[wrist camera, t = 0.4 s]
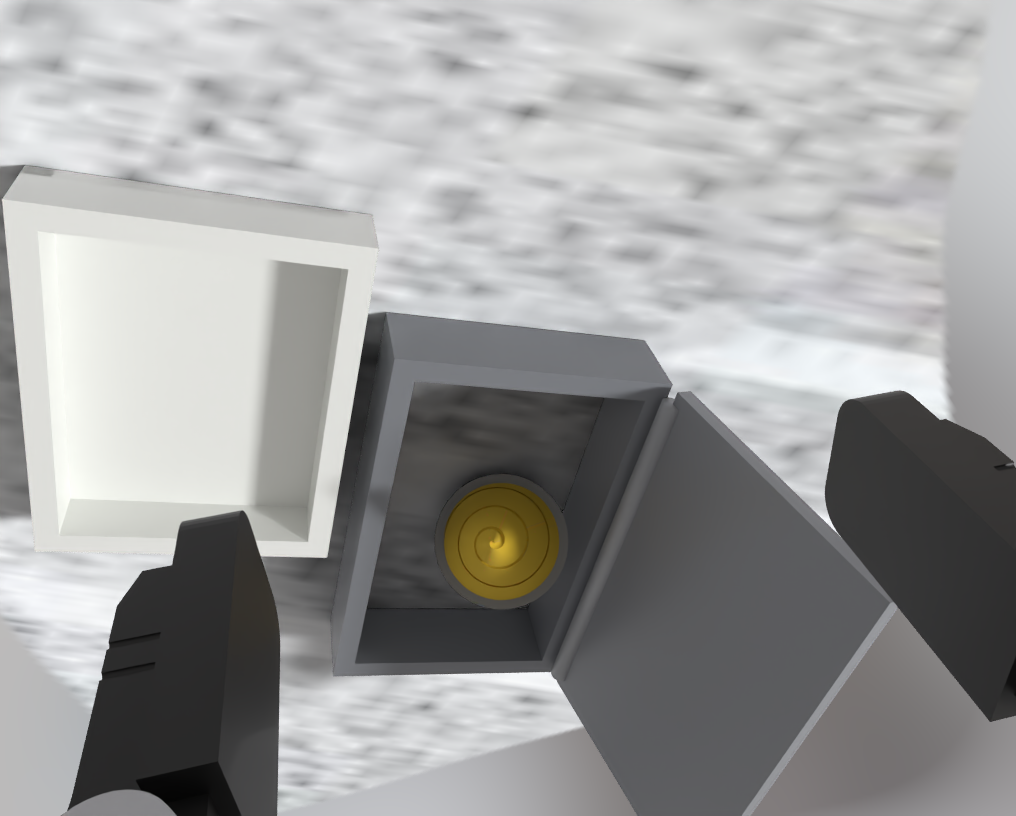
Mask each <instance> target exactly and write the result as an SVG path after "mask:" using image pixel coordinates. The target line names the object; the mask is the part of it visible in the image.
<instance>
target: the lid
mask: <svg viewBox="0 0 1016 816" xmlns="http://www.w3.org/2000/svg"><path fill="white" fill-rule="evenodd" d="M897 608H898V607H897V605H896V604H895V603H894V602H893V601H892V599H891V598H890V597H889V596H888V594H887V593H886V592H885V591H884V589H883V588H882V587H881V586H880V584H879V583H878V582H877V581H876V579H875V578H874V577H873V576H872V574H871V573H870V572H869V571H868V569H867V568H866V567H865V566H864V565H863V563H862V562H861V561H860V560H859V558H858V557H857V556H856V555H855V553H854V552H853V551H852V550H851V548H850V547H849V546H848V545H847V543H846V542H845V541H844V540H843V539H842V538H841V537H840V536H839V535H838V534H837V533H836V532H835V531H834V530H833V529H832V528H831V527H830V526H829V525H828V524H827V523H826V522H825V521H824V520H823V519H822V518H821V517H820V516H819V515H817V514H816V513H815V512H814V511H813V510H812V509H811V508H810V507H809V506H808V505H807V504H806V503H805V502H804V501H803V500H802V499H801V498H800V497H799V496H798V495H797V494H796V493H795V492H794V491H793V490H792V489H791V488H790V487H789V486H788V485H787V484H786V483H784V482H783V481H782V480H781V479H780V478H779V477H778V476H777V475H776V474H775V473H774V472H773V471H772V470H771V469H770V468H769V467H768V466H767V465H766V464H765V463H764V462H763V461H762V460H761V459H760V458H759V457H758V456H757V455H756V454H755V453H754V452H753V451H752V450H750V449H749V448H748V447H747V446H746V445H745V444H744V443H743V442H742V441H741V440H740V439H739V438H738V437H737V436H736V435H735V434H734V433H733V432H732V431H731V430H730V429H729V428H728V427H727V426H726V425H725V424H724V423H723V422H722V421H721V420H720V419H719V418H717V417H716V416H715V415H714V414H713V413H712V412H711V411H710V410H709V409H708V408H707V407H706V406H705V405H704V404H703V403H702V402H701V401H700V400H699V399H698V398H697V397H696V396H695V395H694V394H693V393H692V392H691V391H689V392H678V393H677V395H676V398H675V399H673V398H663V399H662V402H661V404H660V406H659V409H658V411H657V414H656V416H655V419H654V421H653V424H652V426H651V428H650V431H649V433H648V436H647V438H646V441H645V443H644V446H643V448H642V450H641V453H640V455H639V458H638V460H637V463H636V465H635V468H634V470H633V472H632V475H631V477H630V480H629V482H628V485H627V487H626V490H625V492H624V494H623V497H622V499H621V502H620V504H619V507H618V509H617V512H616V514H615V516H614V519H613V521H612V524H611V526H610V529H609V531H608V533H607V536H606V538H605V541H604V543H603V546H602V548H601V551H600V553H599V555H598V558H597V560H596V563H595V565H594V568H593V570H592V573H591V575H590V577H589V580H588V582H587V585H586V587H585V590H584V592H583V595H582V597H581V599H580V602H579V604H578V607H577V609H576V612H575V614H574V617H573V619H572V621H571V624H570V626H569V629H568V631H567V634H566V636H565V639H564V641H563V643H562V646H561V648H560V651H559V653H558V656H557V658H556V661H555V663H554V665H553V668H552V670H551V674H552V676H553V678H554V679H556V680H557V682H558V684H559V685H560V687H561V689H562V690H563V692H564V694H565V695H566V697H567V699H568V700H569V702H570V704H571V705H572V707H573V709H574V710H575V712H576V714H577V715H578V717H579V719H580V720H581V722H582V724H583V725H584V727H585V729H586V730H587V732H588V734H589V735H590V737H591V739H592V740H593V742H594V744H595V745H596V747H597V749H598V750H599V752H600V754H601V755H602V757H603V759H604V760H605V762H606V764H607V765H608V767H609V769H610V770H611V772H612V773H613V775H614V777H615V779H616V780H617V782H618V784H619V785H620V787H621V789H622V790H623V792H624V794H625V795H626V797H627V799H628V800H629V802H630V804H631V805H632V807H633V809H634V811H635V812H636V814H637V816H751V814H752V813H753V811H754V810H755V808H756V807H757V805H758V804H759V803H760V802H761V800H762V799H763V797H764V796H765V794H766V793H767V792H768V790H769V789H770V787H771V786H772V785H773V783H774V782H775V780H776V779H777V778H778V776H779V775H780V773H781V772H782V771H783V769H784V768H785V766H786V765H787V763H788V762H789V760H790V759H791V758H792V756H793V755H794V754H795V752H796V751H797V749H798V748H799V747H800V745H801V744H802V742H803V741H804V739H805V738H806V737H807V735H808V734H809V732H810V731H811V730H812V728H813V727H814V725H815V724H816V722H817V721H818V720H819V718H820V717H821V715H822V714H823V712H824V711H825V710H826V708H827V707H828V705H829V704H830V703H831V701H832V700H833V699H834V697H835V696H836V694H837V693H838V692H839V690H840V689H841V687H842V686H843V685H844V683H845V682H846V680H847V679H848V677H849V676H850V674H851V673H852V672H853V670H854V669H855V668H856V666H857V665H858V663H859V662H860V661H861V659H862V658H863V656H864V655H865V654H866V652H867V651H868V649H869V648H870V646H871V645H872V644H873V642H874V641H875V639H876V638H877V637H878V635H879V634H880V632H881V631H882V629H883V628H884V627H885V625H886V624H887V623H888V621H889V620H890V618H891V617H892V615H893V614H894V613H895V611H896V610H897Z"/></svg>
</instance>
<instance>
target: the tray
mask: <svg viewBox="0 0 1016 816" xmlns="http://www.w3.org/2000/svg"><path fill="white" fill-rule="evenodd" d="M2 204H3V215H4V225H5V236H6V247H7V258H8V269H9V279H10V290H11V301H12V312H13V322H14V333H15V344H16V355H17V366H18V376H19V387H20V398H21V409H22V419H23V430H24V441H25V452H26V462H27V473H28V484H29V495H30V506H31V516H32V527H33V538H34V549H35V552H81V553H128V554H174V552H175V547H176V541H177V535H178V530H179V526H180V524H181V522H183V521H187V520H192V519H197V518H203V517H208V516H214V515H219V514H225V513H230V512H235V511H241V510H243V511H244V512H245V513H246V515H247V516H248V519H249V521H250V524H251V527H252V531H253V534H254V537H255V540H256V543H257V546H258V550H259V553H260V556H270V557H318V558H327V555H328V549H329V543H330V537H331V531H332V526H333V520H334V514H335V508H336V502H337V496H338V490H339V484H340V478H341V472H342V466H343V460H344V454H345V448H346V442H347V436H348V430H349V424H350V418H351V412H352V406H353V400H354V394H355V388H356V382H357V377H358V371H359V365H360V359H361V353H362V347H363V341H364V335H365V329H366V323H367V317H368V311H369V305H370V299H371V293H372V287H373V281H374V275H375V269H376V263H377V257H378V251H379V247H378V241H377V236H376V231H375V226H374V220H373V215H370V214H363V213H356V212H349V211H342V210H335V209H328V208H321V207H314V206H307V205H300V204H293V203H286V202H279V201H272V200H265V199H258V198H251V197H244V196H237V195H230V194H223V193H216V192H209V191H202V190H195V189H188V188H181V187H174V186H167V185H160V184H153V183H146V182H139V181H132V180H125V179H118V178H111V177H104V176H97V175H90V174H83V173H76V172H69V171H62V170H55V169H48V168H41V167H34V166H27V165H25V166H24V168H23V169H22V170H21V172H20V173H19V175H18V176H17V178H16V179H15V181H14V182H13V184H12V185H11V187H10V188H9V190H8V191H7V193H6V194H5V196H4V197H3V199H2Z"/></svg>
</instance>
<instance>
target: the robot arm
mask: <svg viewBox="0 0 1016 816" xmlns="http://www.w3.org/2000/svg"><path fill="white" fill-rule="evenodd" d="M825 501H826V506H827V510H828V514H829V517H830V519H831V522H832V524H833V526H834V527H835V529H836V531H837V532H838V533H839V535H840V536H841V537H842V538H843V540H844V541H845V542H846V543H847V545H848V546H849V547H850V548H851V550H852V551H853V552H854V553H855V555H856V556H857V557H858V558H859V560H860V561H861V562H862V563H863V565H864V566H865V567H866V568H867V569H868V571H869V572H870V573H871V574H872V576H873V577H874V578H875V579H876V581H877V582H878V583H879V584H880V586H881V587H882V588H883V589H884V591H885V592H886V593H887V594H888V596H889V597H890V598H891V599H892V601H893V602H894V603H895V604H896V605H897V607H898V608H899V609H900V610H901V612H902V613H903V614H904V615H905V617H906V618H907V619H908V620H909V622H910V623H911V624H912V625H913V626H914V628H915V629H916V630H917V632H918V633H919V634H920V635H921V637H922V638H923V639H924V640H925V641H926V643H927V644H928V645H929V646H930V648H931V649H932V650H933V651H934V653H935V654H936V655H937V656H938V658H939V659H940V660H941V661H942V663H943V664H944V665H945V666H946V668H947V669H948V670H949V671H950V673H951V674H952V675H953V676H954V677H955V679H956V680H957V681H958V682H959V684H960V685H961V686H962V687H963V689H964V690H965V691H966V692H967V694H969V696H970V697H971V699H972V700H973V701H974V702H975V704H976V705H977V706H978V707H979V709H981V711H982V712H983V713H984V715H985V716H986V717H987V718H988V720H989V721H990V722H992V721H996V720H999V719H1003V718H1008V717H1012V716H1016V468H1015V466H1014V462H1013V461H1012V460H1011V459H1009V458H1008V457H1007V456H1006V455H1005V454H1004V453H1002V452H1001V451H1000V450H999V449H998V448H997V447H995V446H994V445H993V444H992V443H991V442H989V441H988V440H987V439H986V438H984V437H982V436H980V435H978V434H976V433H974V432H972V431H970V430H968V429H965V428H963V427H961V426H959V425H957V424H955V423H953V422H951V421H949V420H947V419H944V420H939V419H938V418H937V417H936V416H935V415H933V414H932V413H931V412H930V411H929V410H928V409H927V408H925V407H924V406H923V405H922V404H921V403H920V402H919V401H917V400H916V399H915V398H914V397H913V396H911V395H910V394H909V393H907V392H905V391H893V392H888V393H882V394H877V395H872V396H866V397H861V398H855V399H850V400H847V401H845V402H844V403H843V404H842V406H841V407H840V410H839V413H838V417H837V423H836V429H835V434H834V440H833V446H832V451H831V457H830V463H829V468H828V474H827V480H826V486H825ZM101 673H102V680H100V681H99V685H98V689H97V693H96V697H95V702H94V706H93V710H92V714H91V719H90V723H89V727H88V731H87V736H86V740H85V744H84V748H83V752H82V757H81V761H80V765H79V769H78V773H77V778H76V782H75V786H74V790H73V794H72V798H71V802H70V804H69V808H68V810H67V812H65V813H64V814H62V815H61V816H277V792H278V737H279V681H280V633H279V623H278V616H277V611H276V606H275V601H274V597H273V594H272V591H271V588H270V584H269V581H268V578H267V575H266V572H265V569H264V565H263V562H262V559H261V556H260V553H259V550H258V546H257V543H256V540H255V537H254V534H253V531H252V527H251V524H250V521H249V519H248V516H247V515H246V513H245V512H244V511H243V510H241V511H235V512H230V513H225V514H219V515H214V516H208V517H203V518H197V519H192V520H187V521H183V522H181V524H180V526H179V530H178V535H177V541H176V547H175V552H174V558H173V564H172V566H167V567H161V568H156V569H151V570H146V571H142V573H141V574H140V575H139V577H138V578H137V579H136V581H135V582H134V584H133V585H132V586H131V588H130V589H129V590H128V592H127V593H126V594H125V596H124V597H123V599H122V600H121V601H120V603H119V604H118V605H117V609H116V613H115V617H114V621H113V626H112V630H111V634H110V638H109V649H108V650H107V651H106V655H105V659H104V664H103V668H102V672H101Z"/></svg>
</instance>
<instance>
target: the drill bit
mask: <svg viewBox="0 0 1016 816" xmlns="http://www.w3.org/2000/svg"><path fill="white" fill-rule="evenodd" d="M434 539H435V553H436V558H437V562H438V565H439V567H440V569H441V572H442V574H443V576H444V577H445V579H446V580H447V582H448V583H449V584H450V586H451V587H452V588H453V589H454V590H455V591H456V592H457V593H458V594H459V595H460V596H462V597H463V598H465V599H467V600H468V601H470V602H472V603H474V604H476V605H479V606H482V607H485V608H491V609H497V610H500V609H513V608H517V607H521V606H524V605H526V604H529V603H531V602H533V601H535V600H537V599H538V598H539V597H541V596H542V595H543V594H544V593H546V592H547V591H548V590H549V589H550V587H551V586H552V585H553V584H554V583H555V582H556V580H557V578H558V577H559V575H560V573H561V572H562V570H563V567H564V564H565V561H566V558H567V551H568V530H567V527H566V523H565V519H564V516H563V514H562V512H561V510H560V508H559V506H558V505H557V503H556V502H555V501H554V499H553V498H552V497H551V495H549V494H548V493H547V492H546V491H545V490H544V489H543V488H542V487H540V486H539V485H537V484H535V483H534V482H532V481H530V480H528V479H525V478H522V477H520V476H516V475H509V474H492V475H488V476H484V477H480V478H477V479H475V480H473V481H471V482H469V483H467V484H466V485H464V486H463V487H462V488H460V489H459V490H457V491H456V492H455V493H454V495H453V496H452V497H451V498H450V499H449V500H448V501H447V503H446V505H445V506H444V508H443V510H442V511H441V514H440V516H439V519H438V522H437V525H436V531H435V537H434Z"/></svg>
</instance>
